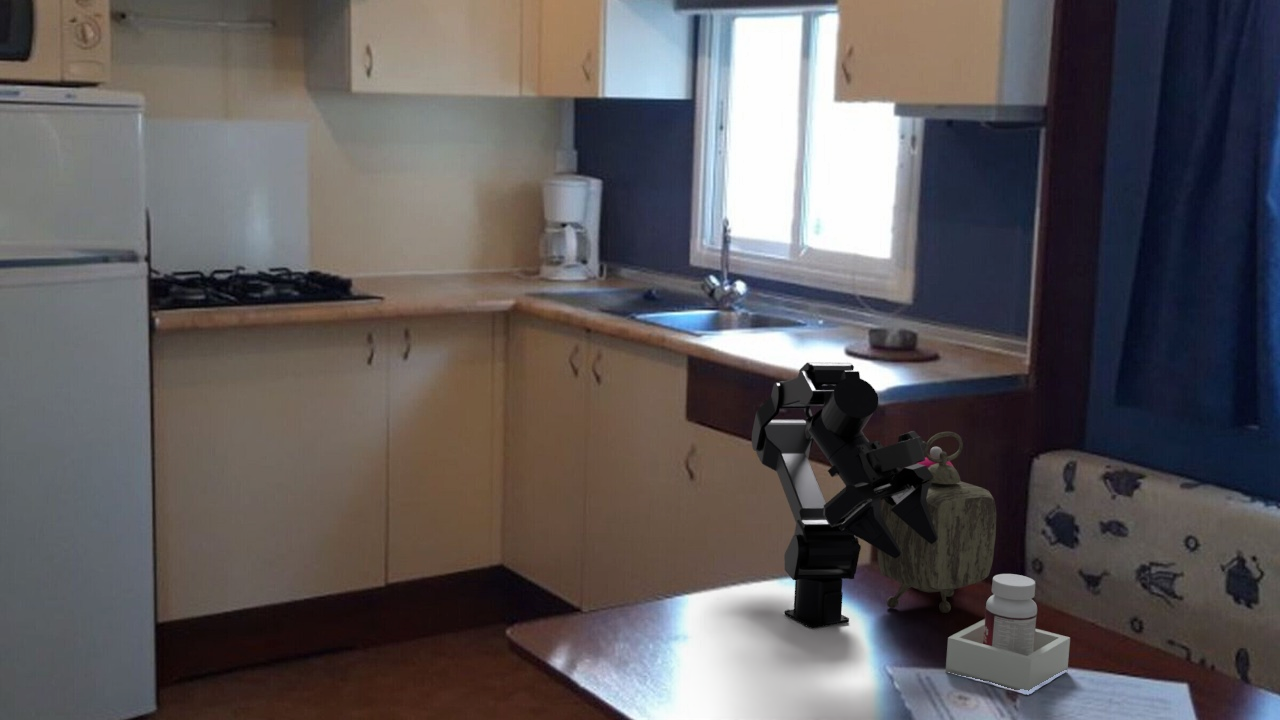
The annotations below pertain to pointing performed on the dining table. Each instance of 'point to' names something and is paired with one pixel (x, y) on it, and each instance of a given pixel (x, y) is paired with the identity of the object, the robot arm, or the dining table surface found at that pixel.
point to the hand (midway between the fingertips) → (917, 549)
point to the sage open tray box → (1006, 658)
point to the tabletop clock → (943, 535)
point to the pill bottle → (1011, 614)
